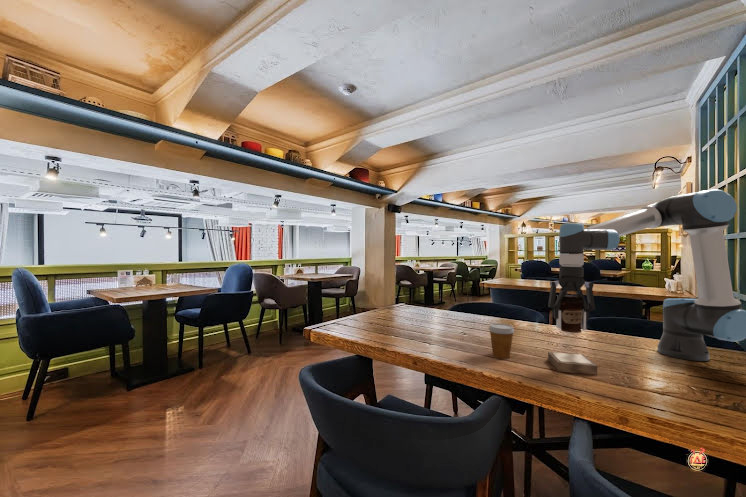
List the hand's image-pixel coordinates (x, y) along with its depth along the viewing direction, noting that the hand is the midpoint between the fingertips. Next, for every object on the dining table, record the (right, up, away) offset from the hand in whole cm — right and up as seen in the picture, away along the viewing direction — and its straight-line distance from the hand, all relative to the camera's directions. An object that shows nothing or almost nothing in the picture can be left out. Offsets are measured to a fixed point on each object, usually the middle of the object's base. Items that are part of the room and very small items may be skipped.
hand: (570, 328), depth 115 cm
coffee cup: (0, -1, 0) cm, 1 cm away
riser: (0, -14, 0) cm, 14 cm away
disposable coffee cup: (-21, -14, +11) cm, 28 cm away
